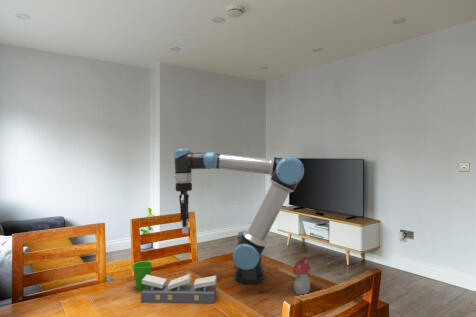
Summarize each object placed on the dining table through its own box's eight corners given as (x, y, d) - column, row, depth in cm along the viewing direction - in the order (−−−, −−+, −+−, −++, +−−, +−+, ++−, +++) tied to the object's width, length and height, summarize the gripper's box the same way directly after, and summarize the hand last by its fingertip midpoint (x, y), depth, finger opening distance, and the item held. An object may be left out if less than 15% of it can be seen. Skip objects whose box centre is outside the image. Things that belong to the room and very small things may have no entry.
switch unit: (215, 292, 138) (215, 280, 138) (213, 303, 128) (213, 290, 128) (148, 291, 139) (148, 279, 139) (140, 302, 129) (140, 289, 129)
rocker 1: (165, 282, 137) (166, 279, 137) (162, 288, 131) (163, 284, 131) (145, 277, 137) (146, 274, 137) (141, 283, 131) (142, 279, 131)
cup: (146, 293, 138) (146, 268, 138) (128, 291, 140) (128, 266, 140) (156, 284, 147) (156, 261, 147) (138, 283, 149) (138, 260, 149)
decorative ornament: (306, 287, 144) (306, 255, 144) (315, 293, 138) (315, 259, 138) (288, 291, 140) (289, 257, 140) (297, 297, 134) (297, 262, 134)
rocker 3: (216, 279, 136) (216, 275, 136) (215, 284, 130) (214, 280, 130) (196, 282, 137) (195, 279, 137) (194, 288, 131) (193, 284, 131)
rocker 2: (191, 277, 137) (190, 273, 137) (189, 282, 131) (187, 279, 131) (172, 283, 137) (171, 280, 137) (168, 289, 131) (167, 286, 131)
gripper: (177, 181, 152) (179, 230, 152) (173, 183, 139) (174, 236, 139) (193, 180, 152) (194, 229, 152) (190, 183, 139) (191, 236, 139)
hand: (185, 233), depth 145 cm, fingers closed
